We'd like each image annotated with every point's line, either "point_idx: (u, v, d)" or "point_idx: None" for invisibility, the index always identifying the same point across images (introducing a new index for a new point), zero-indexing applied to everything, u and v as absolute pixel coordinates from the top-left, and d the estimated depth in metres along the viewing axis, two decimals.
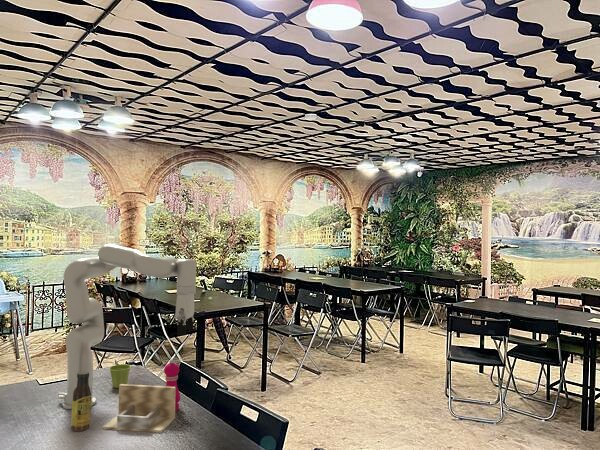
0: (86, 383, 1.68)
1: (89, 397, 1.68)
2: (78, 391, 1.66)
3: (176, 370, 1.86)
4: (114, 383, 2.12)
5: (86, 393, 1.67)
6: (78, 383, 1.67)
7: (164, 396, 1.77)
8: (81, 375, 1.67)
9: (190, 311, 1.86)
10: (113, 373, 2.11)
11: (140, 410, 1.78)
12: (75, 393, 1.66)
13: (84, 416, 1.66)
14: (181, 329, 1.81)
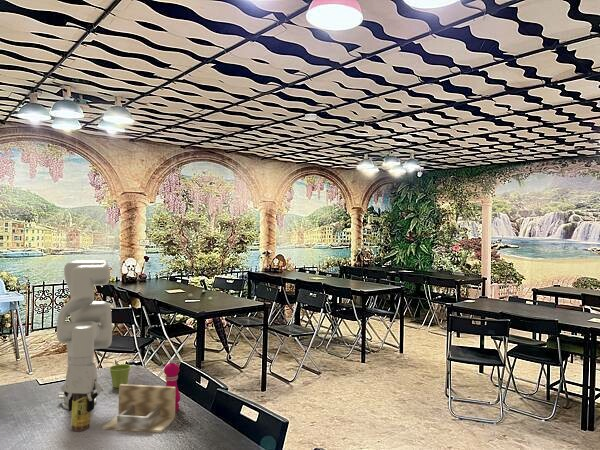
0: None
1: None
2: None
3: (176, 370, 1.86)
4: (114, 383, 2.12)
5: None
6: None
7: (164, 396, 1.77)
8: None
9: None
10: (113, 373, 2.11)
11: (140, 410, 1.78)
12: None
13: (84, 416, 1.66)
14: (93, 403, 1.68)
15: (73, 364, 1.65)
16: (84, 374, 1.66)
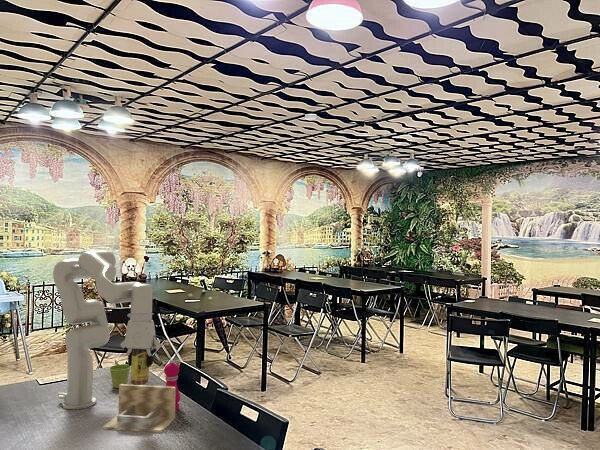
0: None
1: None
2: None
3: (176, 370, 1.86)
4: (114, 383, 2.12)
5: None
6: None
7: (164, 396, 1.77)
8: None
9: None
10: (113, 373, 2.11)
11: (140, 410, 1.78)
12: None
13: (144, 370, 1.71)
14: (152, 359, 1.73)
15: (133, 320, 1.70)
16: (144, 330, 1.71)
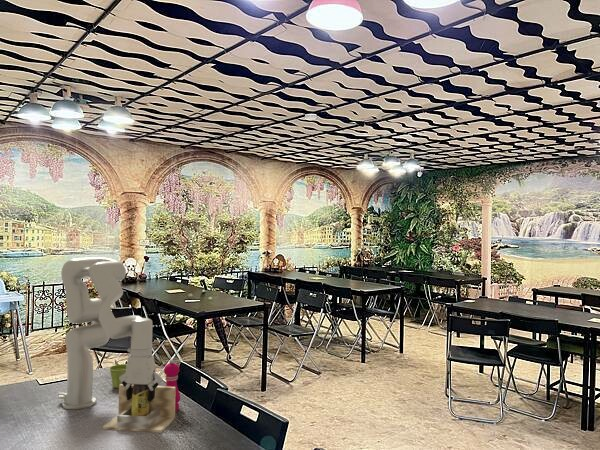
0: None
1: (148, 391, 1.73)
2: (138, 385, 1.71)
3: (176, 370, 1.86)
4: (114, 383, 2.12)
5: (146, 387, 1.72)
6: None
7: (164, 396, 1.77)
8: None
9: None
10: (113, 373, 2.11)
11: None
12: (135, 387, 1.71)
13: (144, 409, 1.71)
14: (154, 393, 1.73)
15: (133, 356, 1.70)
16: (144, 365, 1.71)
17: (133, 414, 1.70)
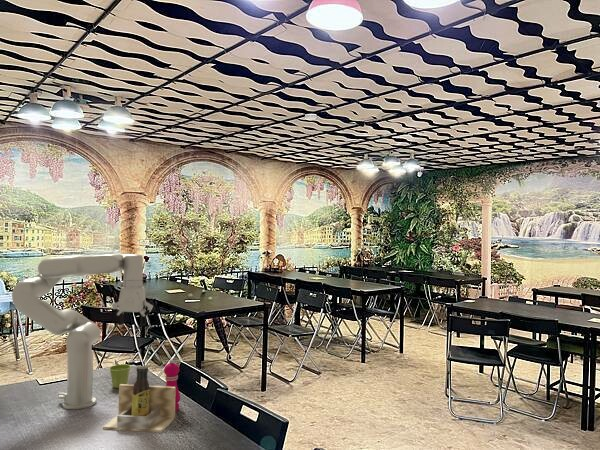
0: (145, 377, 1.73)
1: (148, 391, 1.73)
2: (138, 385, 1.71)
3: (176, 370, 1.86)
4: (114, 383, 2.12)
5: (146, 387, 1.72)
6: (138, 377, 1.72)
7: (164, 396, 1.77)
8: (141, 369, 1.72)
9: None
10: (113, 373, 2.11)
11: None
12: (135, 387, 1.71)
13: (144, 409, 1.71)
14: (145, 319, 1.94)
15: (126, 286, 1.91)
16: (135, 295, 1.91)
17: (133, 414, 1.70)
